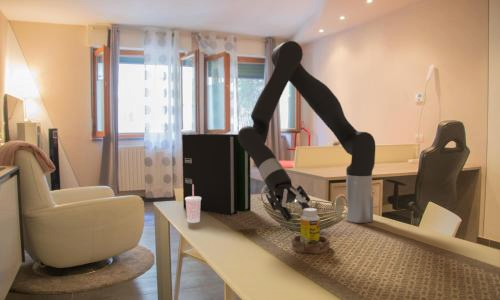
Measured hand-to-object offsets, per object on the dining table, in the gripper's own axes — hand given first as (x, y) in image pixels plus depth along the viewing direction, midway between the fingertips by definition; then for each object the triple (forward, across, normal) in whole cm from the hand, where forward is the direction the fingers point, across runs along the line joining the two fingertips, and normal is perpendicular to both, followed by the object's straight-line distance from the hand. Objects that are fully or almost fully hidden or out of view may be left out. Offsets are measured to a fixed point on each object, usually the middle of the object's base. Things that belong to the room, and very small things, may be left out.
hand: (300, 217), depth 117 cm
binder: (-35, +8, +47) cm, 59 cm away
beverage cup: (-26, -10, +38) cm, 47 cm away
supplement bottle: (+8, 0, +2) cm, 8 cm away
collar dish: (+9, 0, +3) cm, 9 cm away
